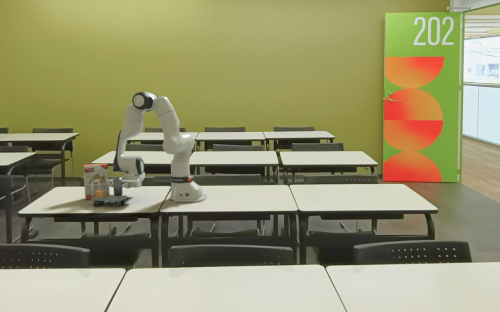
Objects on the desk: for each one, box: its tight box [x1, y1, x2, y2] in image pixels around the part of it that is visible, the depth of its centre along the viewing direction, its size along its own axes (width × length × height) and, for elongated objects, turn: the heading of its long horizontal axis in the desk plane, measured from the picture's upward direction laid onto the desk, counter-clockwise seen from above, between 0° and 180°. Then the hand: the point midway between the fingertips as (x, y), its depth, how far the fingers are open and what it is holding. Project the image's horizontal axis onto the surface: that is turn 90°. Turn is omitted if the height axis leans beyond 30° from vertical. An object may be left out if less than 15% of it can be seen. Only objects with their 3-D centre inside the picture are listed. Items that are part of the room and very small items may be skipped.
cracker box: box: [82, 162, 111, 201], centre depth 292 cm, size 14×6×21 cm, turn 117°
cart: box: [90, 179, 128, 208], centre depth 276 cm, size 18×9×14 cm, turn 77°
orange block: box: [95, 190, 107, 198], centre depth 277 cm, size 5×5×4 cm
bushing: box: [112, 176, 124, 196], centre depth 274 cm, size 5×5×10 cm
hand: (117, 186), depth 273 cm, fingers closed on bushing, 5 cm apart
